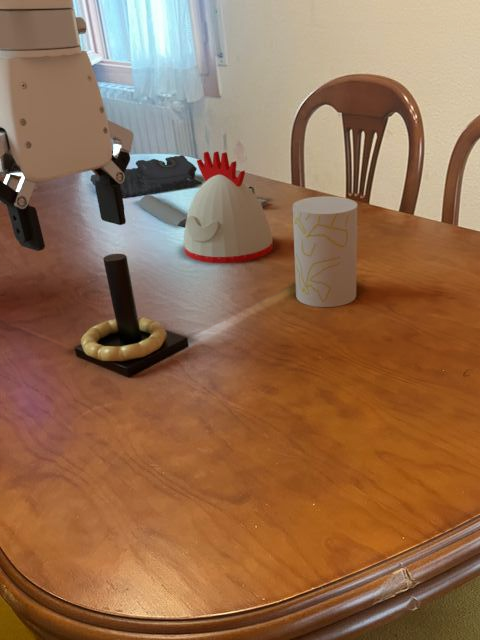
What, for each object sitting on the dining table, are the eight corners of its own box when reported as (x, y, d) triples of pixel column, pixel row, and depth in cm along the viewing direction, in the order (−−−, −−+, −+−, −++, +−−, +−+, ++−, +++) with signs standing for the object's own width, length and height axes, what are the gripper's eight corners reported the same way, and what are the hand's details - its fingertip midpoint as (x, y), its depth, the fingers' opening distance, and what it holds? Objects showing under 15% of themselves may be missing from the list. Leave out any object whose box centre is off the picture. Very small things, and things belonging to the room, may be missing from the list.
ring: (66, 350, 74) (62, 337, 73) (128, 321, 80) (126, 309, 79) (121, 371, 69) (118, 358, 69) (183, 339, 76) (181, 326, 75)
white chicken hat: (221, 234, 112) (211, 140, 104) (289, 246, 106) (285, 147, 98) (167, 259, 102) (151, 157, 94) (239, 273, 96) (229, 166, 88)
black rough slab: (85, 185, 143) (81, 162, 140) (181, 172, 152) (178, 150, 150) (105, 201, 132) (101, 176, 129) (207, 185, 141) (204, 162, 139)
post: (76, 356, 75) (52, 261, 69) (136, 328, 81) (120, 238, 75) (129, 378, 71) (108, 278, 65) (188, 346, 77) (175, 252, 71)
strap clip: (255, 202, 129) (254, 180, 127) (268, 204, 128) (267, 181, 125) (229, 213, 123) (226, 190, 121) (242, 215, 122) (240, 191, 119)
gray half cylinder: (158, 202, 130) (157, 193, 129) (199, 226, 116) (198, 216, 115) (138, 206, 128) (136, 197, 127) (176, 230, 114) (175, 220, 113)
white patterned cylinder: (286, 302, 87) (282, 210, 80) (309, 281, 93) (307, 194, 87) (344, 310, 85) (344, 216, 78) (364, 288, 91) (366, 199, 84)
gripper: (87, 29, 64) (118, 208, 73) (-92, 39, 52) (-27, 251, 61) (140, 31, 60) (165, 219, 69) (-40, 42, 48) (20, 267, 58)
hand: (75, 234), depth 65 cm, fingers open, 9 cm apart
